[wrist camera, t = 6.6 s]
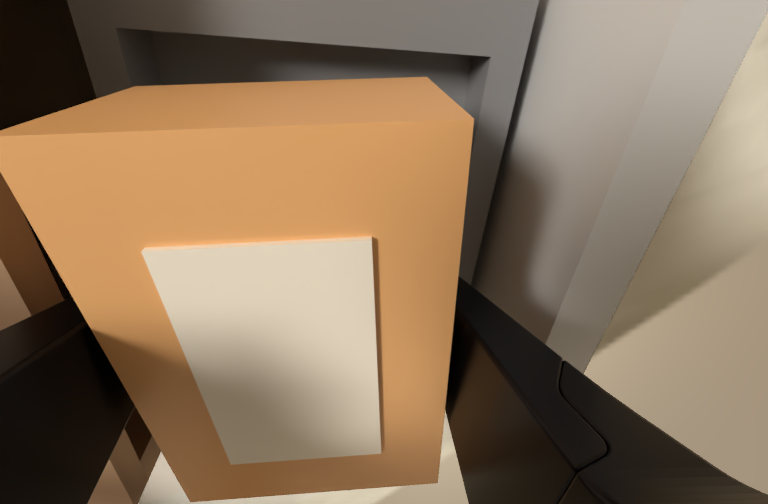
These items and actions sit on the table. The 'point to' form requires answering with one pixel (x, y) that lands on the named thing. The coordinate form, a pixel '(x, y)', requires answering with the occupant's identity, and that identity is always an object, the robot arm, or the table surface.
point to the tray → (488, 114)
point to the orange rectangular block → (263, 269)
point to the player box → (38, 292)
